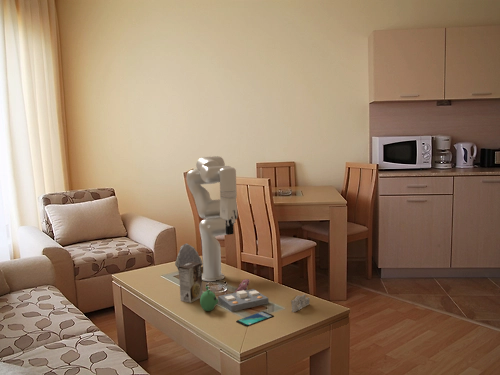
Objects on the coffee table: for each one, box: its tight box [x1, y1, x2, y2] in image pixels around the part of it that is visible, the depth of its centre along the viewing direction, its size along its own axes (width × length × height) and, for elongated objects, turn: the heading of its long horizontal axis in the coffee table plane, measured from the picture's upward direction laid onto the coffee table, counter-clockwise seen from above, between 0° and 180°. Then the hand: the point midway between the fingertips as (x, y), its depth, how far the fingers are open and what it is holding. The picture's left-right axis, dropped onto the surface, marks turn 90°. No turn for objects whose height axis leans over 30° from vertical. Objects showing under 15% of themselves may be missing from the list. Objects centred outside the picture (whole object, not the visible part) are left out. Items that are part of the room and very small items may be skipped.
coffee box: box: [178, 262, 204, 304], centre depth 213 cm, size 9×6×16 cm
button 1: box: [224, 295, 235, 301], centre depth 205 cm, size 4×4×3 cm
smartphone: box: [235, 310, 275, 328], centre depth 188 cm, size 7×1×15 cm
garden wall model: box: [290, 293, 311, 313], centre depth 198 cm, size 12×2×6 cm, turn 139°
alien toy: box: [199, 286, 219, 312], centre depth 198 cm, size 7×8×10 cm
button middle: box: [236, 290, 247, 299], centre depth 207 cm, size 4×4×3 cm
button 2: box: [248, 289, 260, 296], centre depth 210 cm, size 4×4×3 cm
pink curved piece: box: [234, 278, 251, 293], centre depth 221 cm, size 10×5×7 cm, turn 169°
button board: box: [217, 288, 270, 312], centre depth 207 cm, size 14×18×3 cm
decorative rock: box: [174, 243, 203, 271], centre depth 259 cm, size 16×7×15 cm, turn 118°
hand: (229, 234), depth 214 cm, fingers closed
